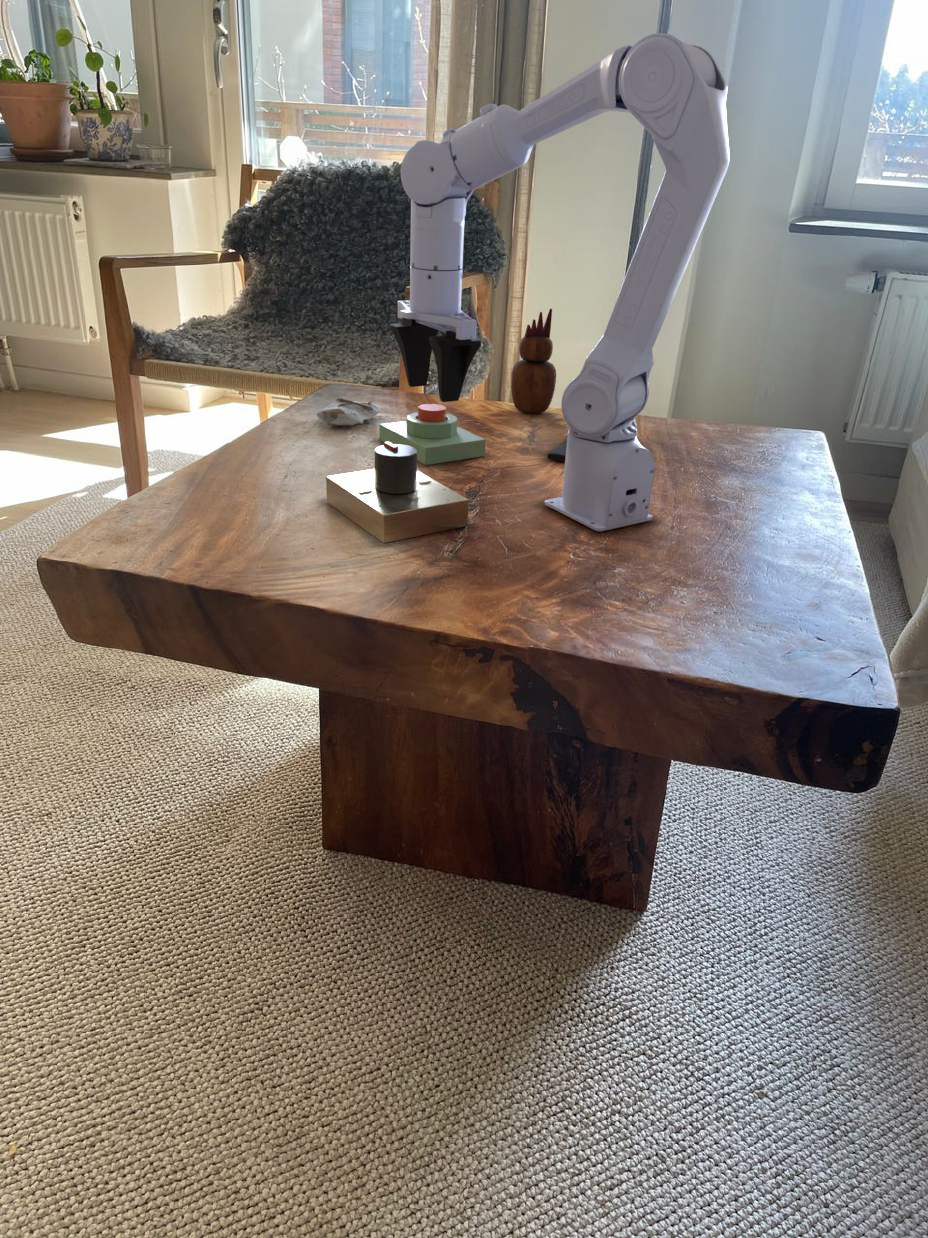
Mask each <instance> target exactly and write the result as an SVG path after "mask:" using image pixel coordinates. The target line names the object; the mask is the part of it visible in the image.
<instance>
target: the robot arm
mask: <svg viewBox="0 0 928 1238" xmlns="http://www.w3.org/2000/svg"><path fill="white" fill-rule="evenodd" d="M721 71H722V70H720V67H719V65H718V63H717V61H716V59H715V58H714V56H713V55H712V53H710V52H709V51H708V50H707V49H706V48H703V47H702V46H699V45H695V44H689V43H686V42H684V41H682V40H680V39H679V38H678V37H676V36H674V35H673V34H670V33H667V32H654V33H651V34H648V35H646V36H643V37H642V38H641V39H640V40H638V41H637V42H636V43H634V44H633V45H630V44H628V45H624V46H621V47H619V48H616V49H614V50H613V51H612V52H610V53H609V54H608V55H606V56H604V57H603V58H602V59H600V60H599V61H597V62H595V63H594V64H592V65H591V66H589V67H588V68H586V69H584V70H583V71H581V72H580V73H578V74H576V75H575V76H573V77H572V78H570V79H568V80H566V81H565V82H563V83H562V84H560V85H558V86H557V87H556V88H553V89H552V90H550V91H549V92H547V93H545V94H544V95H542V96H540V97H539V98H537V99H536V100H533V101H532V102H531V103H529V104H528V105H526V106H525V107H523V108H521V109H520V110H518V109H516V108H515V107H512V106H510V105H508V104H500V105H499V106H498V105H497V104H495V103H488V104H486V105H484V106H482V107H480V108H479V113H480V116H478V117H477V118H475V119H473V120H471V121H469V122H468V123H466V124H465V125H462V126H460V127H459V128H457V129H456V128H452V127H449V128H447V129H446V130H444V131H443V132H442V134H441V135H442V138H441V139H440V141H439V143H438V142H436V141H433V140H427V139H422V140H418V141H416V143H414V145H413V146H412V147H411V148H409V149H408V150H407V152H406V153H405V154H404V156H403V158H402V162H401V166H400V182H401V185H402V189H403V191H404V192H405V194H406V195H407V197H408V198H409V199H410V248H409V249H410V252H409V254H410V255H409V258H410V259H409V260H410V261H409V263H410V264H409V267H410V268H409V300H408V299H407V300H397V319H400V320H401V321H400V322H399V323H391V324H390V331H391V332H392V333H391V334H392V335H393V336H394V338H395V341H396V343H397V345H398V347H399V350H400V355H401V357H402V362H403V366H404V367H403V368H404V372H405V375H406V376H405V377H406V380H407V383H408V387H410V388H415V387H426V386H427V384H428V381H429V376H430V367H431V357H432V352H433V356H434V360H435V364H436V372H437V373H436V374H437V388H438V396H439V400H440V402H442V403H449V402H459V400H460V398H461V394H462V391H463V388H464V387H463V386H464V383H465V380H466V377H467V374H468V372H469V368H470V366H471V365H472V362H473V359H474V357H475V356H476V355H477V353H478V351H479V349H480V348H481V347H482V339H481V338H479V337H477V327H478V320H477V319H473V318H472V317H470V316H469V315H468V314H467V313H465V312H464V310H462V296H463V295H462V294H463V291H462V289H463V270H464V269H463V266H464V245H465V244H464V241H465V240H464V239H465V218H466V216H467V203H468V201H469V199H470V198H471V196H472V195H473V194H474V192H475V190H477V189H479V188H482V187H484V186H485V185H487V184H489V183H491V182H493V181H495V180H498V179H499V178H501V177H503V176H505V175H507V174H509V173H511V172H513V171H515V170H517V169H518V168H519V169H520V168H521V167H523V166H525V165H526V164H527V162H528V161H529V159H530V157H531V154H532V150H533V148H534V146H535V145H536V144H539V143H540V142H543V141H545V140H547V139H549V138H552V137H553V136H555V135H558V134H559V133H562V132H564V131H567V130H569V129H571V128H574V127H576V126H577V125H580V124H581V123H584V122H586V121H588V120H591V119H593V118H595V117H598V116H600V115H602V114H604V113H606V112H618V113H626V114H627V113H628V114H631V115H632V116H633V117H634V118H635V119H636V120H637V121H638V122H639V123H640V125H642V126H643V128H644V129H645V130H646V131H647V132H648V133H649V134H650V135H651V138H652V141H653V143H654V145H655V147H656V150H657V151H658V153H659V156H660V158H661V161H662V163H663V165H664V168H665V171H664V175H663V177H662V180H661V182H660V185H659V188H658V191H657V193H656V195H655V197H654V200H653V203H652V206H651V209H650V211H649V213H648V215H647V219H646V222H645V224H644V226H643V229H642V232H641V235H640V237H639V240H638V242H637V246H636V248H635V251H634V253H633V255H632V258H631V261H630V262H629V263H630V264H629V266H628V269H627V271H626V273H625V274H626V275H625V277H624V279H623V281H622V284H621V287H620V290H619V293H618V294H617V297H616V300H615V303H614V306H613V308H612V311H611V314H610V315H609V319H608V321H607V324H606V325H605V326H606V327H605V329H604V332H603V334H602V336H601V338H599V340H598V342H597V343H596V344H595V346H594V347H593V349H592V350H591V351H590V353H589V354H588V356H586V358H585V361H584V362H583V363H584V364H583V365H582V368H581V370H580V372H579V373H578V375H577V376H576V377H575V378H573V380H571V381H570V382H569V383H568V385H567V386H566V387H565V390H564V391H563V394H562V396H561V404H560V405H561V412H562V416H563V419H564V421H565V423H566V424H567V426H568V430H567V439H566V440H567V449H566V459H565V462H564V469H563V470H564V471H563V482H562V490H561V496H560V497H553V498H549V499H548V498H547V499H544V503H543V504H544V505H545V506H546V507H548V508H550V509H552V510H554V511H555V512H558V513H560V514H562V515H564V516H566V517H568V518H569V519H572V520H574V521H575V522H578V523H580V524H582V525H584V526H586V527H587V528H589V529H591V530H593V531H595V532H605V531H611V530H614V529H619V528H623V527H628V526H631V525H632V526H633V525H636V524H640V523H645V522H650V521H653V520H654V519H653V518H654V516H653V515H652V514H650V513H649V509H650V502H651V496H652V488H653V482H654V477H655V476H654V475H655V460H654V456H653V454H652V453H651V451H650V450H649V449H647V448H646V447H645V446H643V445H642V444H641V442H640V441H639V439H638V436H637V434H638V426H637V421H636V417H637V416H638V415H639V414H640V413H642V411H643V410H644V409H645V407H646V405H647V403H648V400H649V396H650V386H649V378H650V374H651V371H652V368H653V367H654V364H655V360H654V354H653V349H654V346H655V343H656V341H657V339H658V337H659V335H660V332H661V330H662V327H663V325H664V322H665V320H666V318H667V315H668V313H669V310H670V308H671V306H672V303H673V300H674V298H675V296H676V294H677V291H678V290H679V289H678V288H679V286H680V284H681V282H682V279H683V277H684V274H685V272H686V270H687V267H688V264H689V262H690V260H691V258H692V255H693V253H694V250H695V249H696V245H697V243H698V241H699V238H700V236H701V233H702V231H703V228H704V226H705V225H706V222H707V219H708V217H709V214H710V212H711V210H712V207H713V205H714V202H715V199H717V195H718V193H719V191H720V188H721V186H722V183H723V181H724V179H725V176H726V174H727V172H728V169H729V164H730V160H731V159H730V157H731V156H730V143H729V129H728V119H727V118H728V117H727V105H726V104H727V103H726V102H727V95H728V89H729V86H728V84H727V82H726V80H725V77H724V76H723V73H722V72H721ZM439 331H440V332H443V333H445V335H438V332H439Z"/></svg>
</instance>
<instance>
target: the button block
mask: <svg viewBox="0 0 928 1238" xmlns="http://www.w3.org/2000/svg"><path fill="white" fill-rule="evenodd" d="M379 441H380V442H382V443H384V442H390V443H392V444H402V445H408V446H411V447H414V448H416V449H417V462H419V463H420V464H421V465H424V466H429V465H435V464H442V463H447V462H448V463H449V462H455V461H461V460H468V459H474V458H480V457H485V455H486V443H487V442H486V439H485V438H483V437H481V436H479V435H476V434H475V433H473V432H471V431H468V430H466V429H464V428H462V427H459V426H458V417H457V416H455V415H453V414H451V413H448V412H446V421H444V422H424V421H420V420H418V411H417V412H412V413H410V414H408V415H406V420H399V421H394V422H385V423H379Z"/></svg>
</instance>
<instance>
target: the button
mask: <svg viewBox="0 0 928 1238" xmlns="http://www.w3.org/2000/svg"><path fill="white" fill-rule="evenodd" d="M417 412H418V420H420V421H424V422H444V421H446V413H447V406H445V405H443V404H438V403H423V404H420V405H419V406H418V407H417Z"/></svg>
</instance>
